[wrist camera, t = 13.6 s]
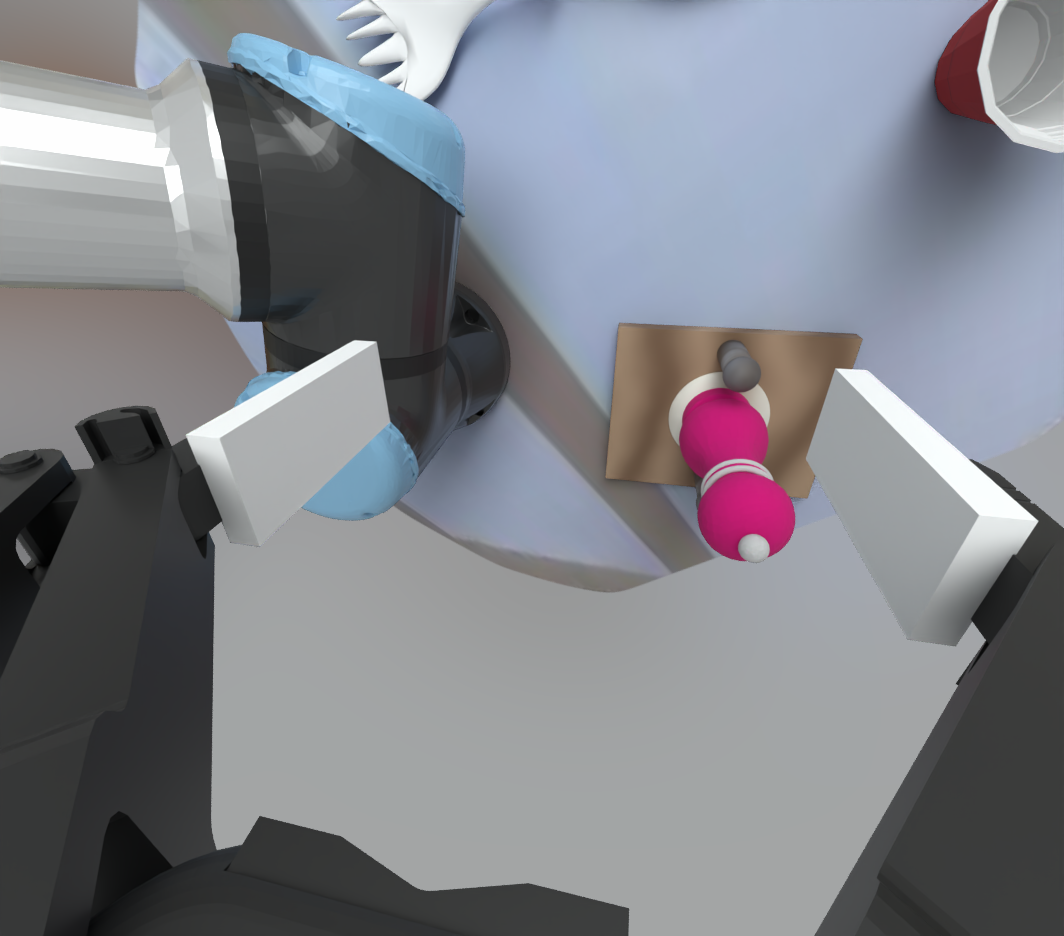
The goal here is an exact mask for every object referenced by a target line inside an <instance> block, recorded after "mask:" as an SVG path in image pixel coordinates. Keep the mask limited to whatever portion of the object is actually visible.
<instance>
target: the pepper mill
mask: <svg viewBox="0 0 1064 936" xmlns="http://www.w3.org/2000/svg"><path fill="white" fill-rule="evenodd" d="M768 442H769V438H768V431H767V427H766V423H765V421H764V419H763V417H762V416H761V414H760V413H759V412H758V411H757V410H756V409H755V408H753V407H752V406H751V405H750V403H749V402H748V400H747V399H746V398H745V397H744V396H743V395H742V394H740V393H739V392H734V391H732V390H730V389H727V388H714V389H710V390H706V391H704V392H701V393H700V394H698V395H697V396H695V397H694V398H693V399H692V400H691V401H690V402H689V403H688V405H687V406H686V408H685V410H684V412H683V417H682V427H681V430H680V434H679V445H680V450H681V453H682V456H683V458H684V460H685V462H686V463H687V464H688V466H689V467H690V468H691V469H692V470H693V471H694V472H695V473H696V474H697V475H698V476H700V477H701V478H703V481H702V484H701V497H702V498H701V501H700V503H699V507H698V513H697V514H698V523H699V527H700V530H701V533H702V535H703V537H704V538H705V540H706V541H707V543H708V544H709V545H710V546H711V547H712V548H713V549H714V550H715V551H717V552H718V553H720V554H721V555H723V556H725V557H728V558H730V559H734V560H739V561H748V562H751V563H759V562H762V561H764V560H765V559H766V558H767V557H770V556H772V555H774V554H775V553H777V552H779V551H780V550H781V549H782V548H783V547H784V546H785V545H786V544H787V543H788V541H789V540H790V538H791V536H792V534H793V530H794V526H795V512H794V507H793V504H792V501H791V499H790V498H789V496H788V494H787V493H786V491H785V490H784V489H783V488H782V487H781V486H779V485H778V484H777V483H776V482H775V481H774V480H773V477H772V475H771V474H770V472H769V471H768V470H767V469H766V468H765V467H764V466H763V465H762V463H763V461H764V459H765V457H766V453H767V449H768Z"/></svg>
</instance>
